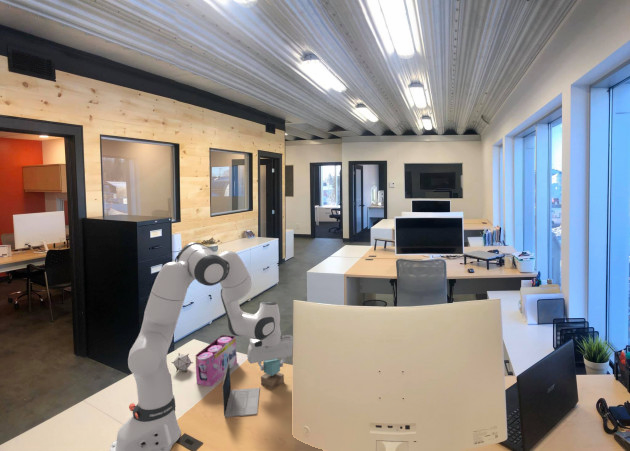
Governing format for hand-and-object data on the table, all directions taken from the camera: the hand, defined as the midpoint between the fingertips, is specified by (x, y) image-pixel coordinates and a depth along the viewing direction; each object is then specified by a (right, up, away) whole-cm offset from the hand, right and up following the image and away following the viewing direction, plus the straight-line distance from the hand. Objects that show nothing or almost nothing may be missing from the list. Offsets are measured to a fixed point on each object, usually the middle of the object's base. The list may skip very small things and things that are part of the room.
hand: (271, 368), depth 166 cm
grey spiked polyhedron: (-44, -7, +14) cm, 46 cm away
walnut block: (0, -7, +1) cm, 7 cm away
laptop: (-10, -10, -12) cm, 19 cm away
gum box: (-26, -7, +11) cm, 29 cm away
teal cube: (0, -2, 0) cm, 2 cm away
